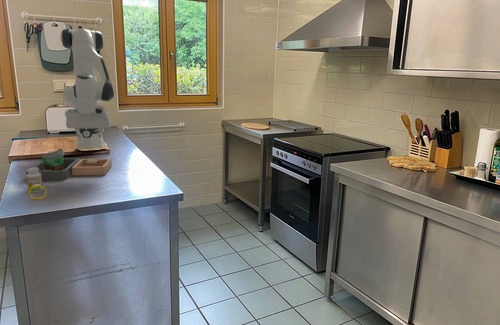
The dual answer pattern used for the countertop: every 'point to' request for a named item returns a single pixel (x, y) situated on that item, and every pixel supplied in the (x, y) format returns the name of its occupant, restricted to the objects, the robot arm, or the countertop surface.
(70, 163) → the charcoal bin
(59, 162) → the food container
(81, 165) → the terracotta bin
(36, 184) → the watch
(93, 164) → the walnut block
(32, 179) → the supplement bottle
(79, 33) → the robot arm
